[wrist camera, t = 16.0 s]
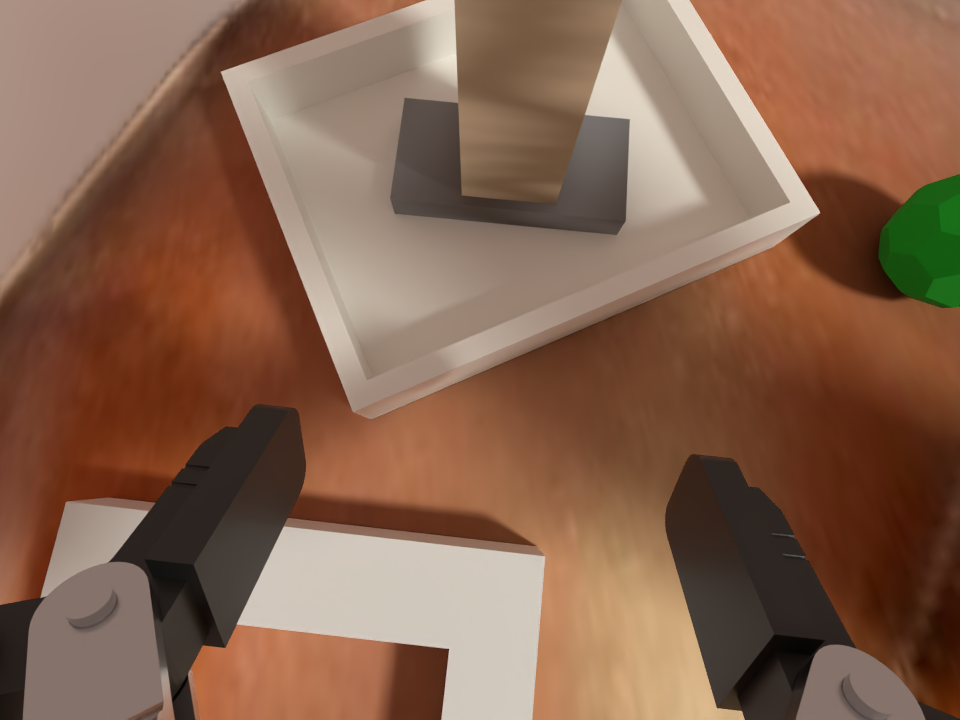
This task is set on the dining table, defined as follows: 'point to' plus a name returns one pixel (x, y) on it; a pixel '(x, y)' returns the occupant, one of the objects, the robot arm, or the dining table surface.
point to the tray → (490, 246)
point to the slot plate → (373, 595)
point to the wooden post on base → (519, 123)
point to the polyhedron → (926, 244)
